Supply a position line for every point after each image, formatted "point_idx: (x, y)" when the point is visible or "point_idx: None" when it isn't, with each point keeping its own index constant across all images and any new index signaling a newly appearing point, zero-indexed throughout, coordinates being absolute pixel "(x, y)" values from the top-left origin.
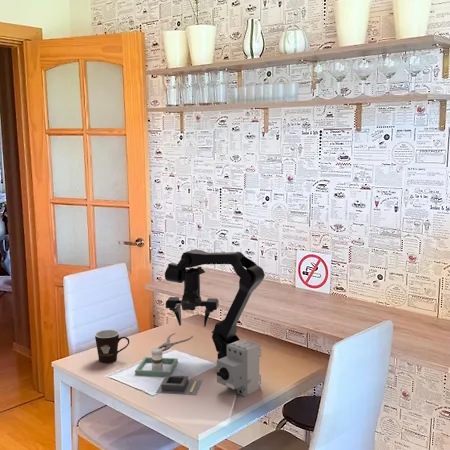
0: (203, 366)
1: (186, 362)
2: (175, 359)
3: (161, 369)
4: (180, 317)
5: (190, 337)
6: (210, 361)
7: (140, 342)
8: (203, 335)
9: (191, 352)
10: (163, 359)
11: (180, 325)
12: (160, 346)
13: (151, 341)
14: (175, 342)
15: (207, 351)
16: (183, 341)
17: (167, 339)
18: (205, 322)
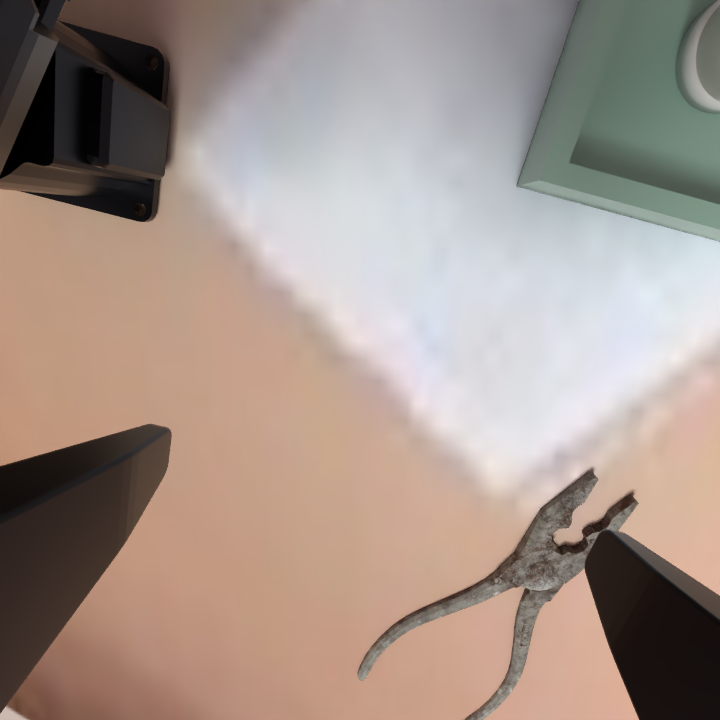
0: (300, 133)
1: (437, 241)
2: (563, 158)
3: (708, 10)
4: (689, 718)
5: (376, 654)
6: (242, 239)
7: None
8: (291, 677)
9: (384, 430)
10: (670, 194)
11: (607, 530)
12: None
13: None
14: (483, 593)
15: (266, 434)
16: (425, 608)
17: (528, 644)
18: (83, 455)
